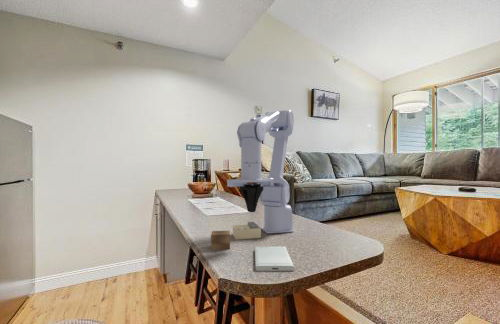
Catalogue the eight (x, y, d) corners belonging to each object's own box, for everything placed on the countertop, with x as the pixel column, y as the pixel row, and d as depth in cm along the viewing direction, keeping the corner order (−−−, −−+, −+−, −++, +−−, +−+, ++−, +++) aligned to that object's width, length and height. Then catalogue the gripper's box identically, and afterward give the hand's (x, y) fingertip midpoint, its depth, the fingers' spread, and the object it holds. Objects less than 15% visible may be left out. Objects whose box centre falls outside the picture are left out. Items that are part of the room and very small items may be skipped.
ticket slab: (256, 233, 77) (256, 221, 77) (261, 237, 72) (261, 225, 72) (232, 234, 75) (232, 223, 76) (235, 239, 70) (235, 227, 70)
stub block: (229, 244, 66) (229, 230, 66) (229, 249, 62) (229, 234, 62) (211, 245, 65) (211, 230, 65) (211, 250, 61) (211, 234, 61)
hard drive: (254, 246, 61) (255, 265, 48) (285, 246, 61) (294, 265, 48) (254, 252, 61) (255, 273, 48) (285, 252, 61) (294, 273, 48)
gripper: (263, 164, 73) (263, 207, 72) (222, 163, 65) (222, 212, 65) (277, 163, 67) (278, 210, 67) (234, 162, 59) (234, 216, 59)
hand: (251, 211), depth 65 cm, fingers closed
